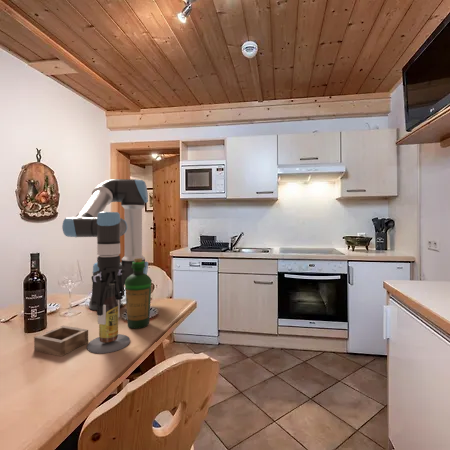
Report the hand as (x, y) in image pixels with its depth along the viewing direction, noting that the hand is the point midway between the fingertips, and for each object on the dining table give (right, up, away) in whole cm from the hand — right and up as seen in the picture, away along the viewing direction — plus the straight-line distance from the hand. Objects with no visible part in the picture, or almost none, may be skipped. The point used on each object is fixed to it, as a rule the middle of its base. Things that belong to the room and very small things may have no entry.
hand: (109, 320), depth 98 cm
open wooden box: (-16, -8, -2) cm, 18 cm away
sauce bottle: (0, -7, 0) cm, 7 cm away
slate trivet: (0, -8, 0) cm, 8 cm away
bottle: (+5, -8, +17) cm, 20 cm away
